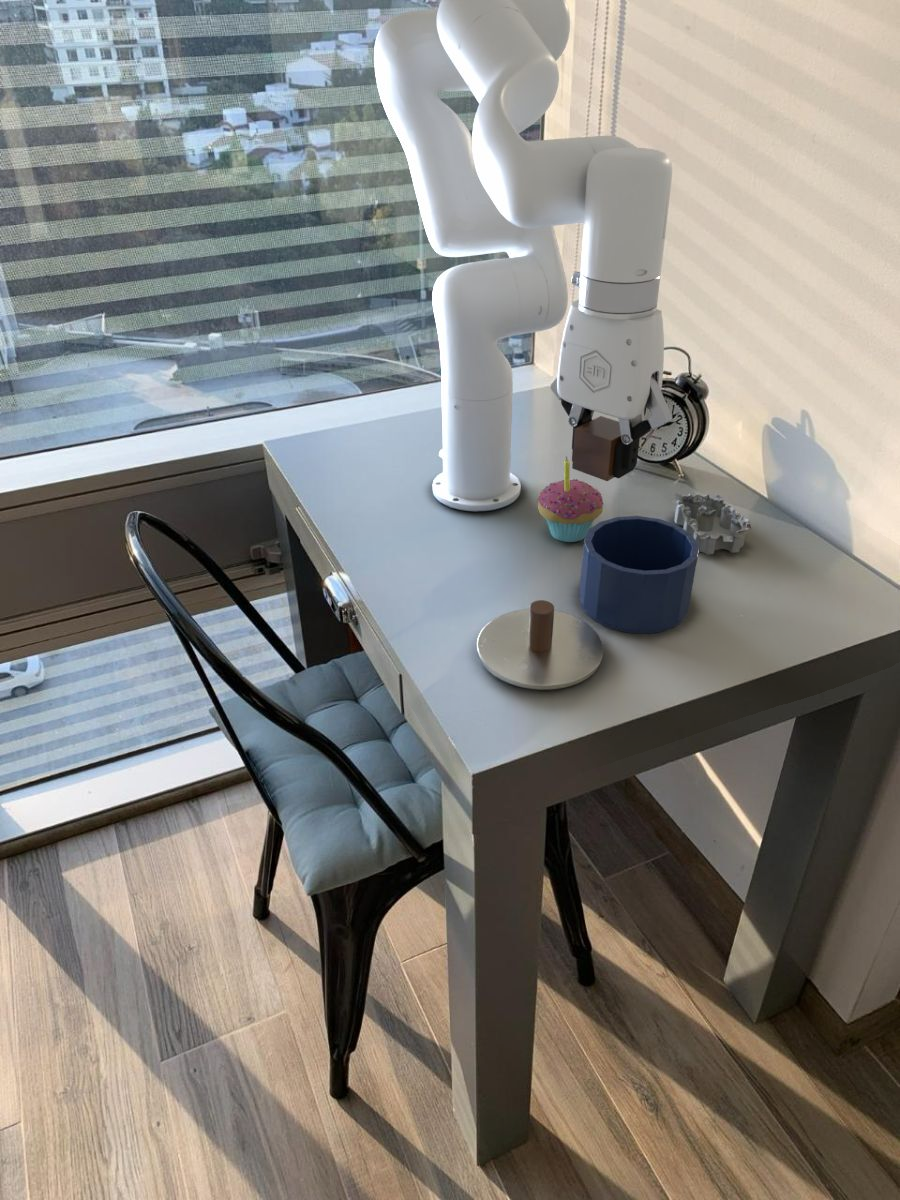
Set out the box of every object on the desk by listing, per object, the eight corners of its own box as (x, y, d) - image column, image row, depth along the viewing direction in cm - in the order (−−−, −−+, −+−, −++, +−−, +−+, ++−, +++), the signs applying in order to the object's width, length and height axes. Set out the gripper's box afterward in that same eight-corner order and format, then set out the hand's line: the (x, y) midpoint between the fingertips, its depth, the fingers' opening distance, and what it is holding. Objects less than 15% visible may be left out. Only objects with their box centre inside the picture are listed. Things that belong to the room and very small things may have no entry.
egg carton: (749, 554, 114) (755, 526, 111) (691, 556, 113) (696, 529, 111) (722, 512, 122) (728, 486, 120) (668, 514, 122) (673, 488, 120)
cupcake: (583, 556, 113) (590, 471, 107) (524, 538, 117) (527, 455, 110) (610, 527, 119) (619, 444, 113) (553, 511, 123) (558, 430, 116)
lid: (455, 637, 100) (454, 592, 96) (557, 604, 105) (560, 560, 101) (517, 710, 90) (519, 662, 86) (627, 669, 95) (633, 622, 91)
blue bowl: (559, 589, 107) (563, 532, 103) (643, 562, 112) (651, 506, 108) (622, 646, 98) (629, 585, 94) (711, 614, 103) (722, 555, 98)
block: (572, 468, 96) (574, 428, 93) (597, 454, 99) (600, 415, 96) (607, 481, 93) (611, 440, 91) (632, 467, 96) (636, 427, 93)
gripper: (525, 285, 88) (519, 454, 98) (673, 319, 78) (650, 503, 89) (571, 270, 93) (561, 433, 103) (717, 301, 83) (690, 478, 93)
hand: (602, 464), depth 96 cm, fingers closed on block, 4 cm apart
